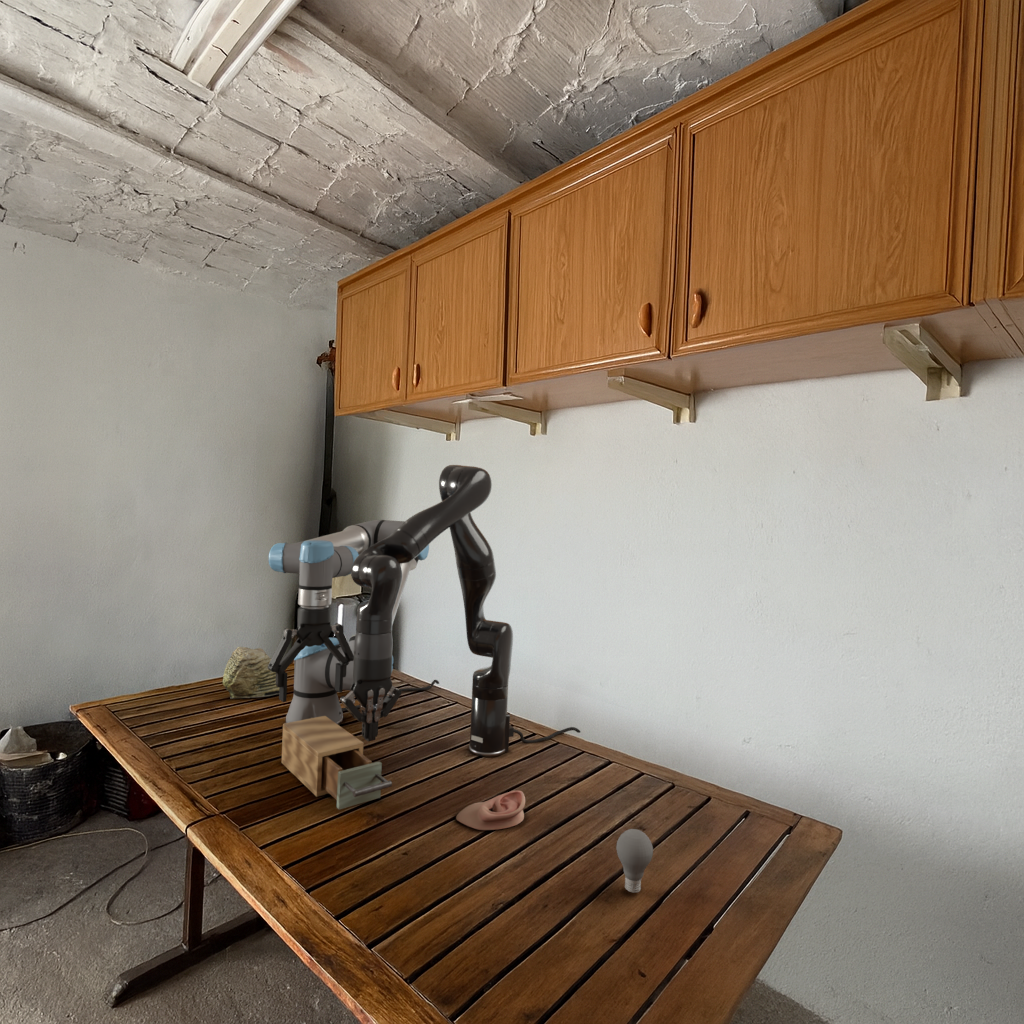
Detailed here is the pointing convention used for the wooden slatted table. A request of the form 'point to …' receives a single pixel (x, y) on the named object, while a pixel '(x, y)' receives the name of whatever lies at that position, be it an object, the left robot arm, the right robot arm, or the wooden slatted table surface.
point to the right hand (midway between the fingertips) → (369, 739)
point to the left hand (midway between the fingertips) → (311, 695)
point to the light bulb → (634, 857)
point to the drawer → (352, 778)
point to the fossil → (249, 674)
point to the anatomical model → (495, 812)
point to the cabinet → (314, 748)
